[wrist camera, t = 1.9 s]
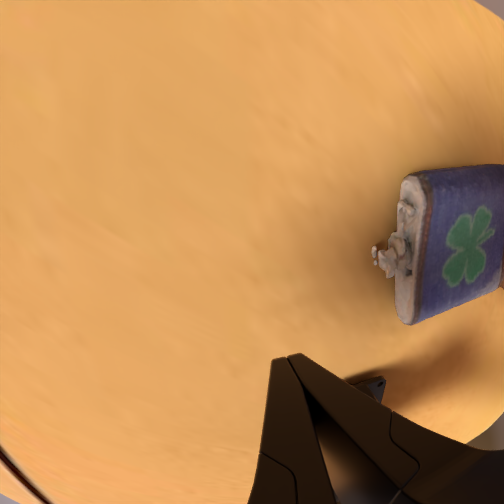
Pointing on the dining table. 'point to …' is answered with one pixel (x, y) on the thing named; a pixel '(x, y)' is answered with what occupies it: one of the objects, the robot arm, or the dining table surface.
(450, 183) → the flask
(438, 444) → the robot arm
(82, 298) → the dining table surface
